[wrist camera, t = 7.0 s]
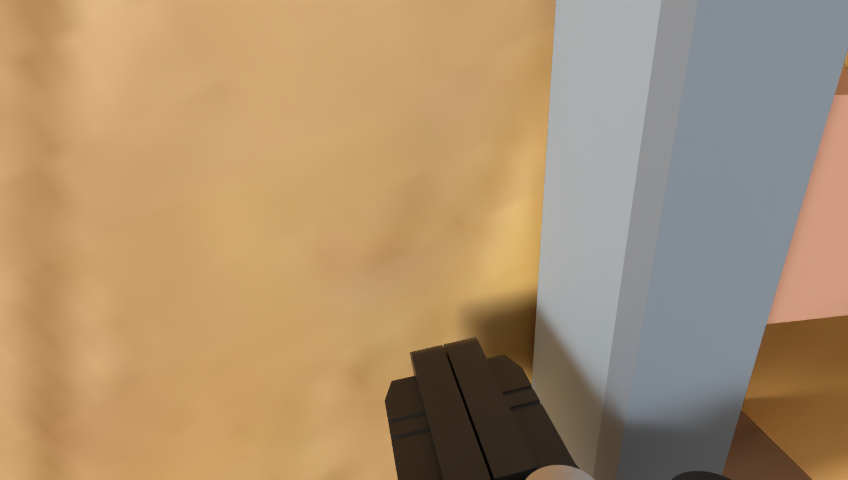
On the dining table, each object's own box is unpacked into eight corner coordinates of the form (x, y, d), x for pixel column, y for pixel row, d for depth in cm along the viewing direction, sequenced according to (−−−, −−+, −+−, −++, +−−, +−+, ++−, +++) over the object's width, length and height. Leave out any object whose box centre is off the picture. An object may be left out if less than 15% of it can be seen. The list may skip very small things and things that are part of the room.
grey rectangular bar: (556, -162, 9) (749, -298, 5) (674, -161, 9) (948, -289, 5) (521, 448, 15) (593, 610, 11) (592, 435, 15) (688, 589, 11)
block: (801, 62, 12) (1015, 89, 8) (752, 225, 13) (911, 308, 10) (639, 65, 11) (792, 96, 7) (609, 235, 13) (723, 329, 9)
